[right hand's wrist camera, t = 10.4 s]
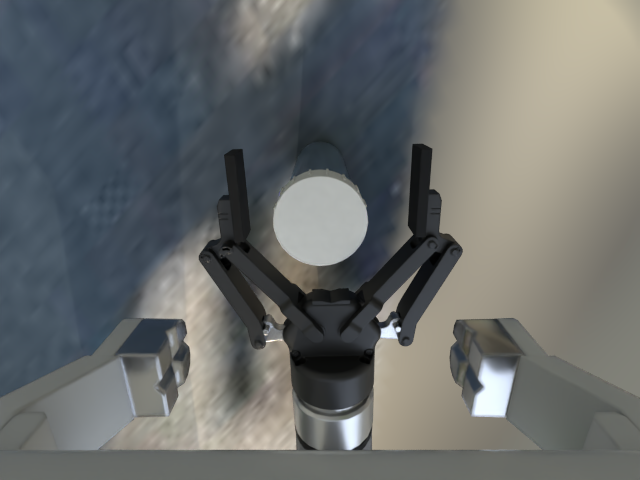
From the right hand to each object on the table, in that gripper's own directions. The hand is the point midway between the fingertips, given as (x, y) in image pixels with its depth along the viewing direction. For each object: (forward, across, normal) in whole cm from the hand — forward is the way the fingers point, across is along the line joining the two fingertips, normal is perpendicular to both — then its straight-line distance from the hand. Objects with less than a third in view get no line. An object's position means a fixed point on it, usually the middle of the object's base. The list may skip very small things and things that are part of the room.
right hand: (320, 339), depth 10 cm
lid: (+10, 0, 0) cm, 10 cm away
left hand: (+20, 0, -2) cm, 20 cm away
